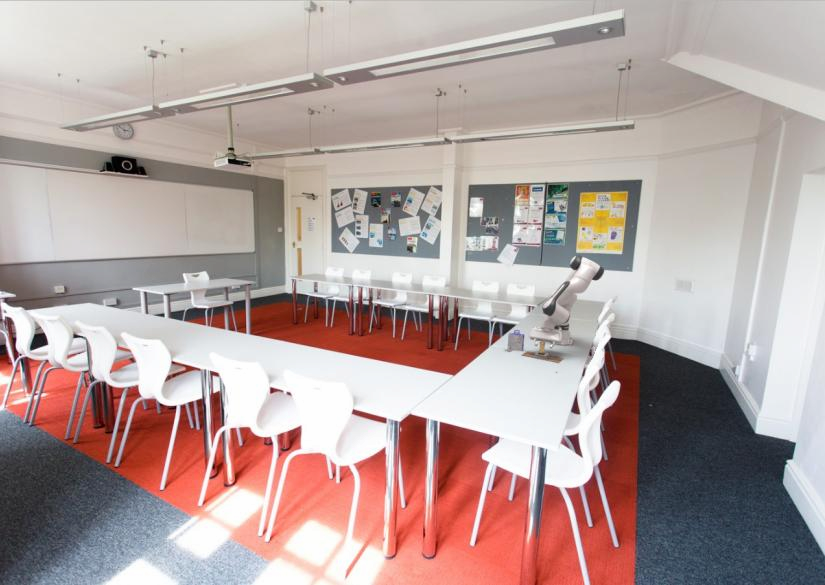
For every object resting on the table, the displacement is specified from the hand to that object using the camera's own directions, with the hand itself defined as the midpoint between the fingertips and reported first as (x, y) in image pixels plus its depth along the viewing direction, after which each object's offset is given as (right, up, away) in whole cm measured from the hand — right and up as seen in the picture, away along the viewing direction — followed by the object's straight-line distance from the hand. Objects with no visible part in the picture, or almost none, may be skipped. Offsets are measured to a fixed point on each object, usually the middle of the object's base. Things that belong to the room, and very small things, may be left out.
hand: (543, 346), depth 254 cm
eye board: (0, -8, +3) cm, 9 cm away
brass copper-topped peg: (-1, -7, +1) cm, 7 cm away
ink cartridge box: (-13, -6, +18) cm, 23 cm away
